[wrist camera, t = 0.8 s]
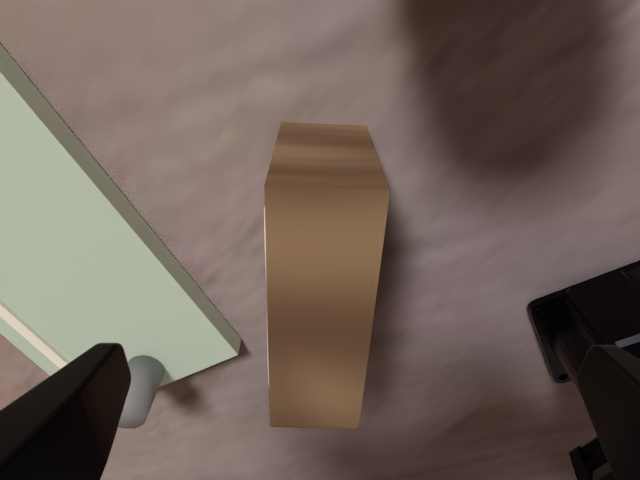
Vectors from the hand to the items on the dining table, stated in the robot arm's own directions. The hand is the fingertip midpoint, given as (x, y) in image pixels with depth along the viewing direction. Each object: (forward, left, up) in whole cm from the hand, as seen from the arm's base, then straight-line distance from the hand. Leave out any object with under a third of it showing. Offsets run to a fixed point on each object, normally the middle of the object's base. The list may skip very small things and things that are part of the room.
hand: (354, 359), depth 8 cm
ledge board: (+2, +14, -12) cm, 19 cm away
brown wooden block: (-3, +2, -12) cm, 13 cm away
